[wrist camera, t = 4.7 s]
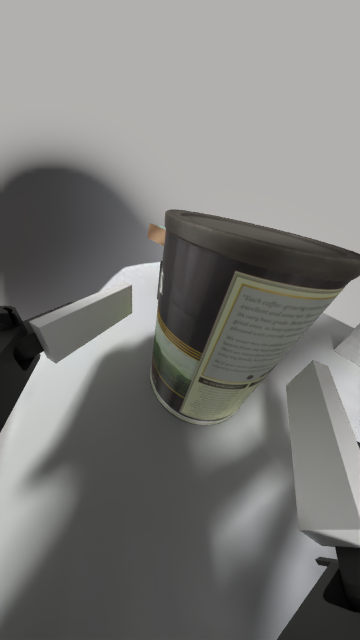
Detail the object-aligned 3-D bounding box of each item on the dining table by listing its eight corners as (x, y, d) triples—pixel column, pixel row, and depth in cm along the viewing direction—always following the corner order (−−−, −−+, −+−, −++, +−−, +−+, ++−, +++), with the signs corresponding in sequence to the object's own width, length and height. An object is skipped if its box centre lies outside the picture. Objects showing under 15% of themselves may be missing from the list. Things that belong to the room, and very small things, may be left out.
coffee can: (127, 389, 15) (118, 202, 6) (175, 329, 23) (200, 211, 14) (236, 455, 12) (466, 289, 4) (248, 362, 20) (330, 241, 12)
